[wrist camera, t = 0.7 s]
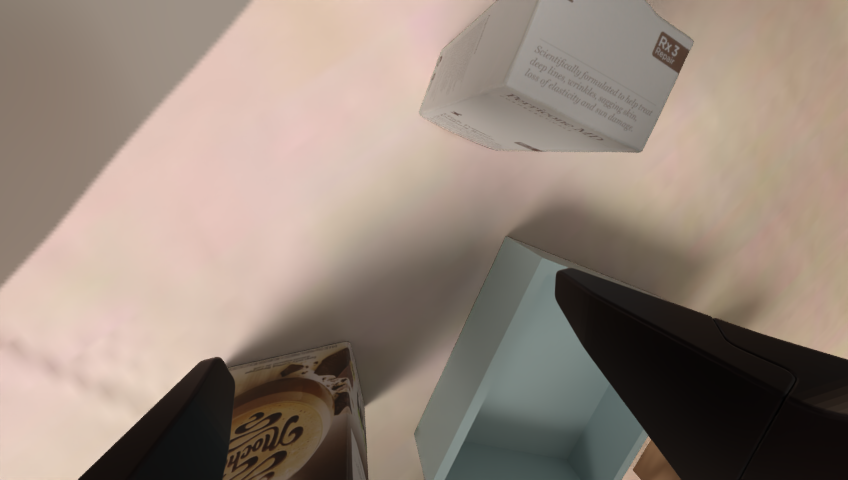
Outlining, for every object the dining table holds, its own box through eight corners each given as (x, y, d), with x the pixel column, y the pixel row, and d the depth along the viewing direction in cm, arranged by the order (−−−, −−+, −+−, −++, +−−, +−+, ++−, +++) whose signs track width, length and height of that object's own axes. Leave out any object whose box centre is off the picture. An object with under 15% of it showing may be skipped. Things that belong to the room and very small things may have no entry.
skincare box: (415, 117, 22) (492, 92, 11) (441, 44, 21) (554, -67, 10) (499, 153, 24) (641, 165, 12) (526, 87, 23) (704, 35, 12)
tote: (564, 460, 33) (600, 513, 28) (413, 433, 29) (427, 491, 24) (657, 295, 30) (715, 324, 25) (506, 236, 26) (542, 257, 21)
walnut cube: (666, 475, 37) (713, 524, 33) (632, 469, 36) (675, 519, 31) (690, 437, 36) (742, 481, 32) (656, 429, 35) (705, 474, 30)
